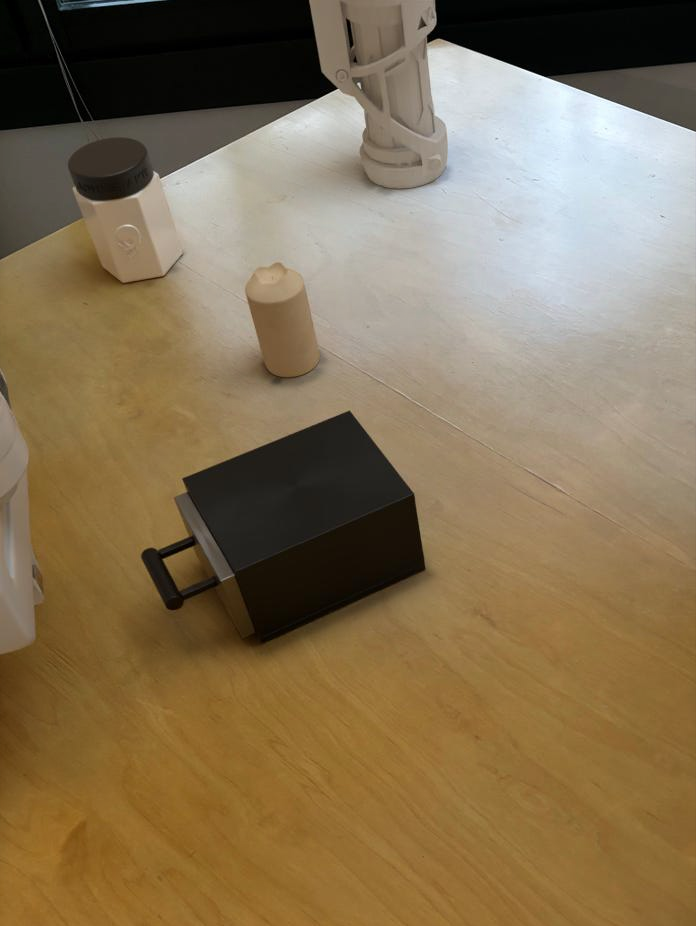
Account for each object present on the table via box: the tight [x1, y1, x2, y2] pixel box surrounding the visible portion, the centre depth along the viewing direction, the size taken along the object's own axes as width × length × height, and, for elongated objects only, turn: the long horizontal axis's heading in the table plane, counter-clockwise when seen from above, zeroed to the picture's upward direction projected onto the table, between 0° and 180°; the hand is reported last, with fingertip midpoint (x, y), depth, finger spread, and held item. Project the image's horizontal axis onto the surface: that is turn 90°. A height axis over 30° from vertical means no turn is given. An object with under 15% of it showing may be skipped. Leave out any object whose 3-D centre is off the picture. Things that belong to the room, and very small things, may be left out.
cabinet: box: [181, 410, 426, 644], centre depth 86 cm, size 15×12×9 cm
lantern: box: [308, 0, 449, 190], centre depth 118 cm, size 13×10×25 cm
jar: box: [67, 136, 184, 284], centre depth 114 cm, size 9×8×12 cm
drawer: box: [140, 491, 256, 639], centre depth 85 cm, size 18×10×7 cm, turn 119°
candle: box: [244, 261, 321, 378], centre depth 102 cm, size 6×6×10 cm
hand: (32, 591), depth 79 cm, fingers closed
